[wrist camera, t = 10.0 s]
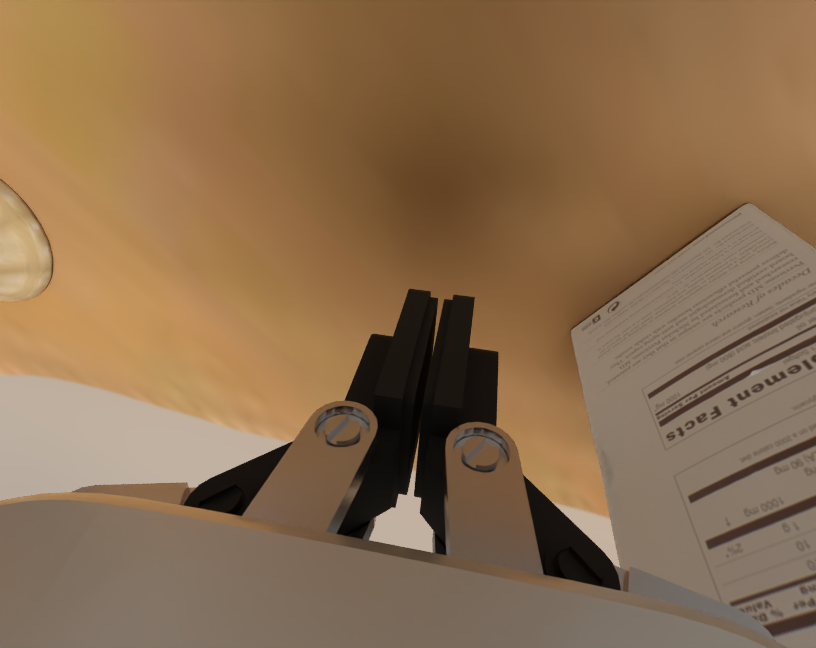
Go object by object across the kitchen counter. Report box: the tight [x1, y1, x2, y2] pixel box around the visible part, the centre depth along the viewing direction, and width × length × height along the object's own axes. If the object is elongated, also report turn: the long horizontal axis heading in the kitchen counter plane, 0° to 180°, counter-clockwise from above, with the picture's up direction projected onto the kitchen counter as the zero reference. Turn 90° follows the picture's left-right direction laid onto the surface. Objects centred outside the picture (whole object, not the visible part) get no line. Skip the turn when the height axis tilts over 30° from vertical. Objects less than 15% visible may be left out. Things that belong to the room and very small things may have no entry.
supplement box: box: [571, 203, 816, 648], centre depth 15 cm, size 10×9×17 cm
